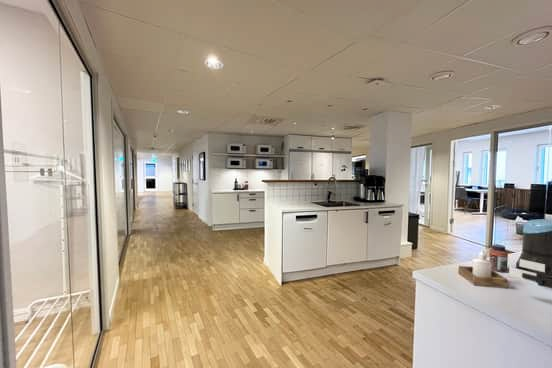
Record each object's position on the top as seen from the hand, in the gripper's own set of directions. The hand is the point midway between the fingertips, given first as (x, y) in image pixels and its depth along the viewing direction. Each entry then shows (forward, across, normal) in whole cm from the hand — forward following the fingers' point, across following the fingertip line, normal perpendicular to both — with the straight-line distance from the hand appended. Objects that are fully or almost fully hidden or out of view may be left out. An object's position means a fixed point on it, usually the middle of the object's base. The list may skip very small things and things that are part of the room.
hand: (514, 266), depth 87 cm
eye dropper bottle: (+10, 0, -9) cm, 13 cm away
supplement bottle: (+9, +19, -9) cm, 23 cm away
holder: (+10, 0, -9) cm, 13 cm away
